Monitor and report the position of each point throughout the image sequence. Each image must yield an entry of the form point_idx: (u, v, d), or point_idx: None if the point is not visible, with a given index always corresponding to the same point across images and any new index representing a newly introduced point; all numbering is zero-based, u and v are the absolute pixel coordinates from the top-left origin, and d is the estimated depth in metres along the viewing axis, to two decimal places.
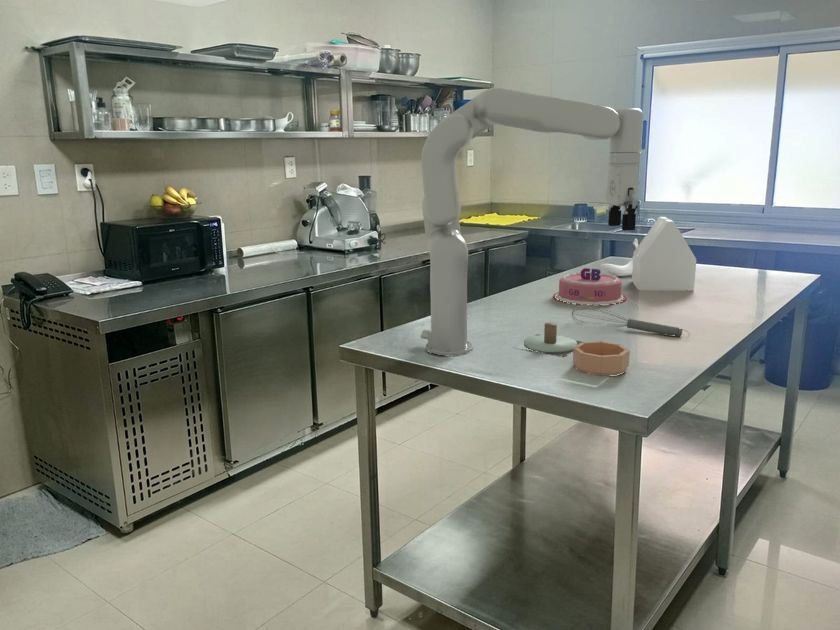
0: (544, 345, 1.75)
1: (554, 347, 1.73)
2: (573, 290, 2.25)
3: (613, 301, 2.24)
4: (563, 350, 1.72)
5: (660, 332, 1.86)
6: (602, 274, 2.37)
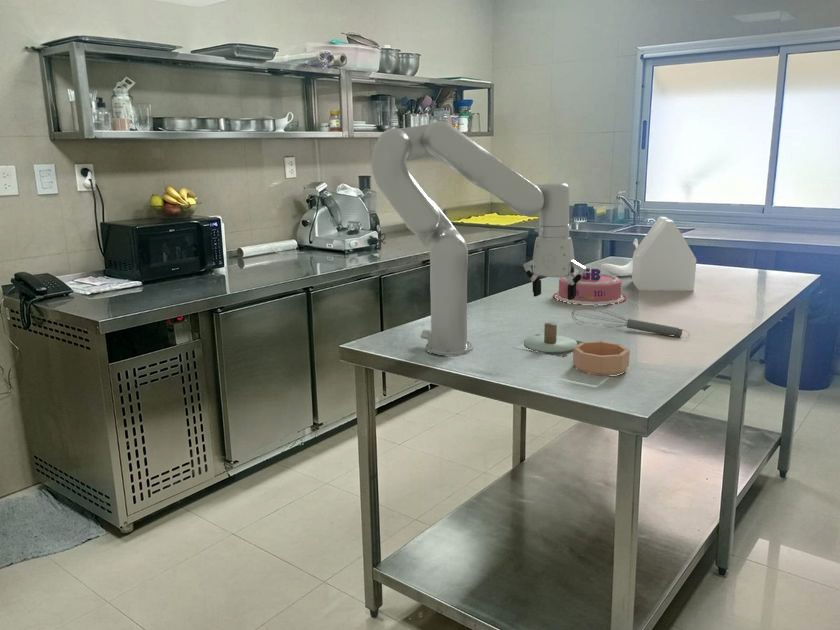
0: (544, 345, 1.75)
1: (554, 347, 1.73)
2: None
3: (613, 301, 2.24)
4: (563, 350, 1.72)
5: (660, 332, 1.86)
6: (602, 274, 2.37)
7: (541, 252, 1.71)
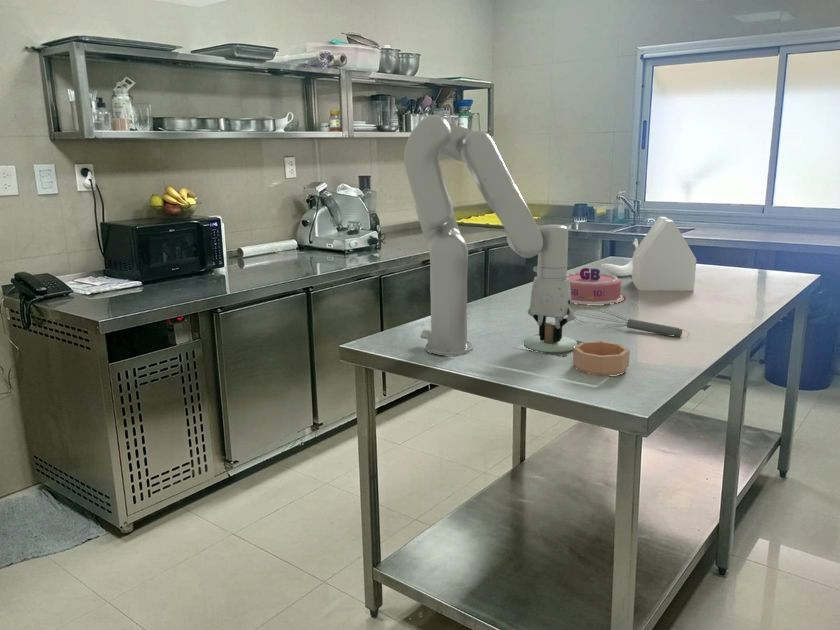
0: (544, 345, 1.75)
1: (554, 347, 1.73)
2: (572, 290, 2.25)
3: (612, 301, 2.24)
4: (563, 350, 1.72)
5: (660, 332, 1.86)
6: (601, 274, 2.38)
7: (539, 292, 1.74)
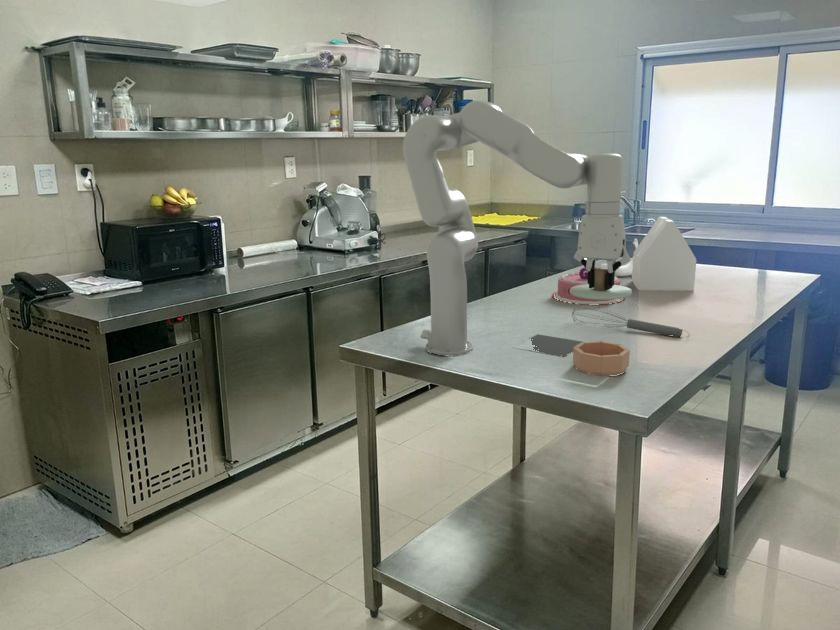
0: (595, 292, 1.54)
1: (606, 293, 1.52)
2: None
3: (612, 300, 2.25)
4: (618, 296, 1.50)
5: (660, 332, 1.86)
6: None
7: (588, 231, 1.52)
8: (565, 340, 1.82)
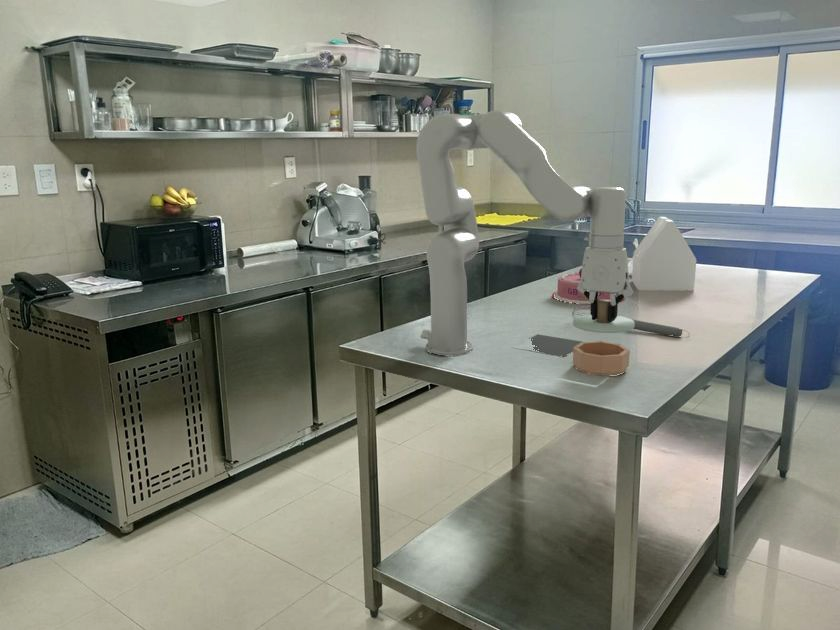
0: (598, 324, 1.54)
1: (609, 326, 1.53)
2: (572, 290, 2.26)
3: None
4: (620, 329, 1.51)
5: (660, 332, 1.86)
6: None
7: (591, 264, 1.53)
8: (565, 340, 1.82)
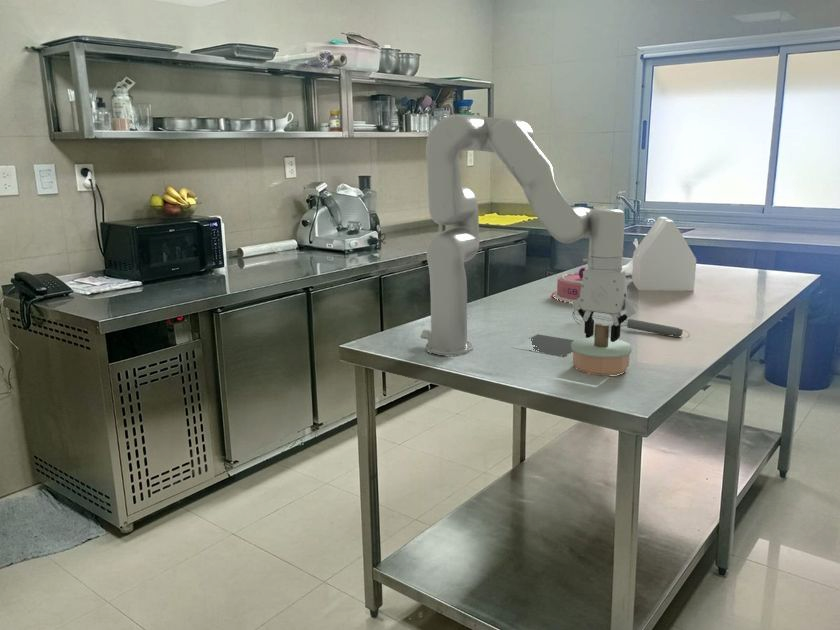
0: (595, 349, 1.56)
1: (606, 351, 1.54)
2: (571, 290, 2.26)
3: None
4: (618, 354, 1.52)
5: (660, 332, 1.86)
6: None
7: (590, 285, 1.54)
8: (565, 340, 1.82)
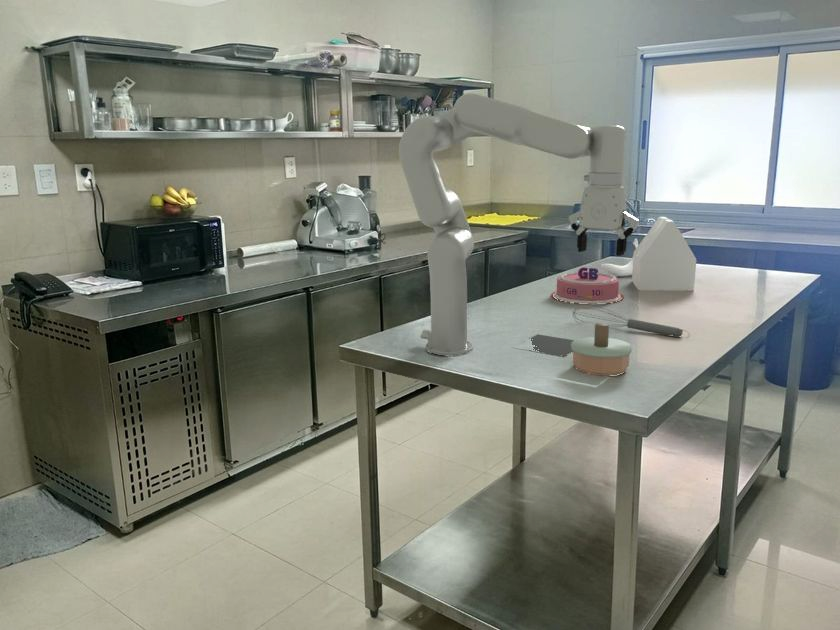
0: (595, 349, 1.56)
1: (606, 351, 1.54)
2: (571, 289, 2.26)
3: (611, 300, 2.25)
4: (618, 354, 1.52)
5: (660, 332, 1.86)
6: (599, 273, 2.39)
7: (590, 202, 1.56)
8: (565, 340, 1.82)
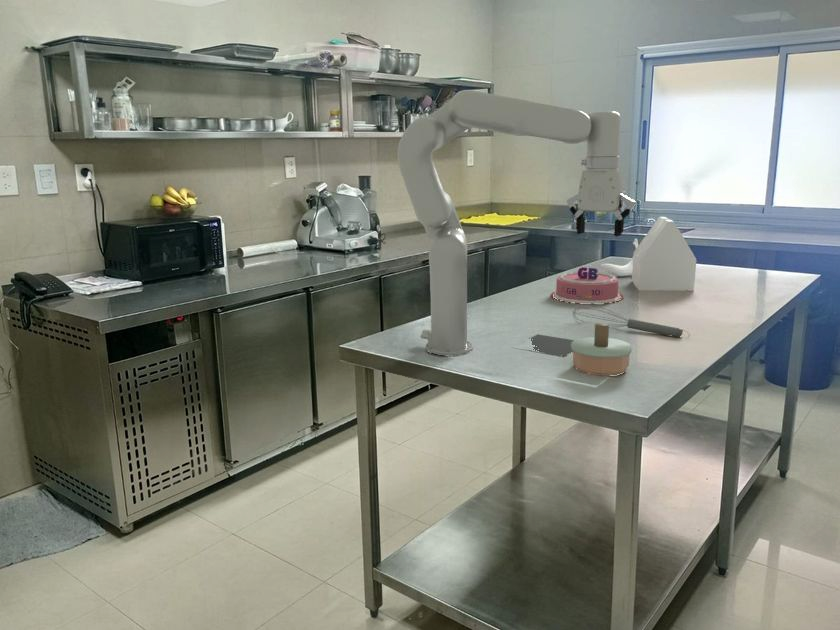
0: (595, 349, 1.56)
1: (606, 351, 1.54)
2: (571, 289, 2.26)
3: (610, 300, 2.26)
4: (618, 354, 1.52)
5: (660, 332, 1.86)
6: (599, 273, 2.39)
7: (588, 185, 1.63)
8: (565, 340, 1.82)
